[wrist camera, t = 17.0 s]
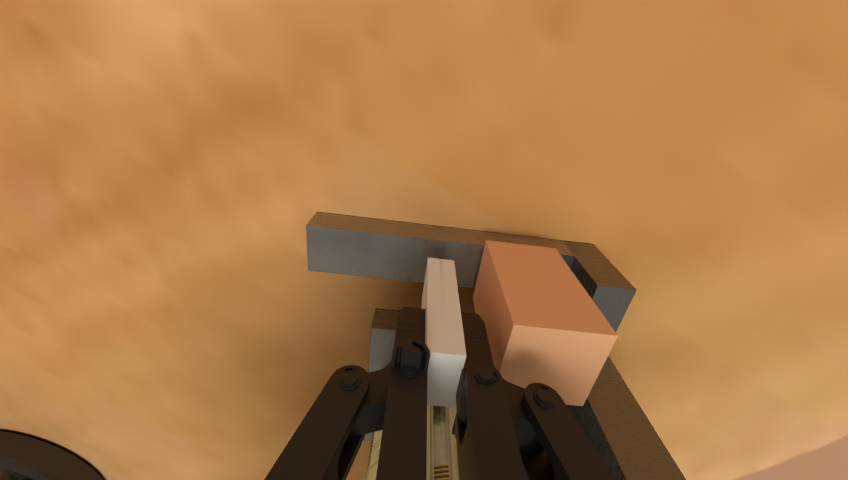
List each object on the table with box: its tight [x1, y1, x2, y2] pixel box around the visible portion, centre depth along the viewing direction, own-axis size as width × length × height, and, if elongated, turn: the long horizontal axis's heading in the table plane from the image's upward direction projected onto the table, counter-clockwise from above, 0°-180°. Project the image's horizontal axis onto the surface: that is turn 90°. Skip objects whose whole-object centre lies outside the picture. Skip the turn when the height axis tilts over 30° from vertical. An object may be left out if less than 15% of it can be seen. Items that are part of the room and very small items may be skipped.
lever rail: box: [306, 212, 636, 332], centre depth 19 cm, size 18×3×5 cm, turn 83°
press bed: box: [364, 309, 686, 480], centre depth 21 cm, size 16×12×14 cm
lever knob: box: [473, 240, 618, 406], centre depth 16 cm, size 4×4×7 cm
